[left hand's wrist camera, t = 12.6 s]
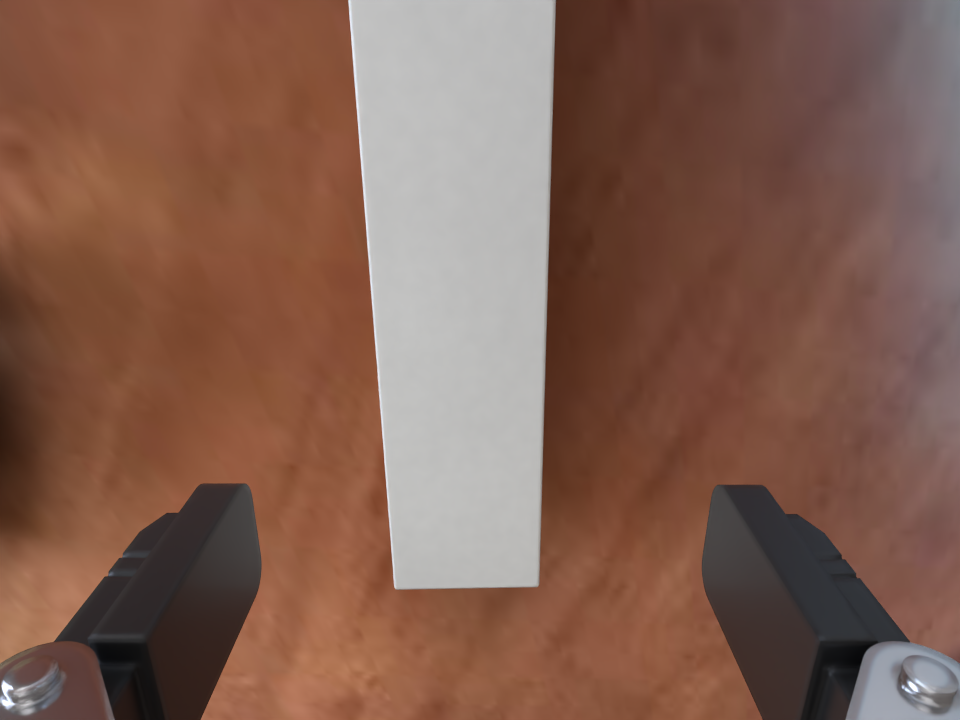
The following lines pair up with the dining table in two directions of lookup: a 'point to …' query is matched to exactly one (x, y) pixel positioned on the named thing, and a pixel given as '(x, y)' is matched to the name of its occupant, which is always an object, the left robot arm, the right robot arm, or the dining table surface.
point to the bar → (458, 276)
